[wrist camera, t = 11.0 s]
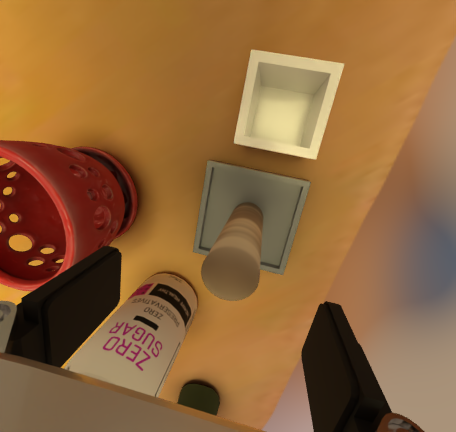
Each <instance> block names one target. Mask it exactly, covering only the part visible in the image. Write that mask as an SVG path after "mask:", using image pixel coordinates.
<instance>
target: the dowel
mask: <svg viewBox="0 0 456 432" xmlns="http://www.w3.org/2000/svg"><path fill="white" fill-rule="evenodd" d="M262 229H263V213H262V211H261V209H260V208H259V207H258V206H257V205H255V204H253V203H249V202H245V203H241V204H239V205H238V206H237V207H236V208H235V209H234V210H233V212H232V214H231V216H230V217H229V219H228V221H227V223H226V224H225V226H224V228H223V229H222V231H221V233H220V235H219V236H218V238H217V240H216V241H215V243H214V245H213V247H212V248H211V250H210V252H209V254H208V255H207V257H206V259H205V260H204V262H203V265H202V270H201V275H202V279H203V282H204V284H205V286H206V287H207V289H208V290H209V291H210V292H211V293H212V294H214V295H215V296H217V297H219V298H221V299H224V300H229V301H237V300H242V299H245V298H247V297H248V296H250V295H251V294H252V293H253V292H254V291H255V290H256V288H257V286H258V283H259V276H260V260H261V245H262Z"/></svg>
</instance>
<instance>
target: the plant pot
mask: <svg viewBox="0 0 456 432" xmlns="http://www.w3.org/2000/svg"><path fill="white" fill-rule="evenodd" d="M0 158H6V159H8V160H10V162H8V163H6V164H4V165H1V166H0V204H1V207H0V225H1V227H2V232H1V233H0V283H1V284H3V285H6V286H8V287H11V288H15V289H18V290H23V291H34V290H35V289H37V288H38V287H40V286H42V285H43V284H45V283H46V282H48V281H50V280H51V279H53V278H54V277H56V276H57V275H59V274H61V273H62V272H64V271H65V270H67V269H68V268H70V267H72V266H73V265H75V264H76V263H78V262H79V261H81V260H83V259H84V258H86V257H87V256H89V255H90V254H92V253H94V252H95V251H97V250H98V249H100V248H102V247H103V246H109V244H110V243H111V242H112V241H113V239H115V238H117V237H119V236H121V235H122V234H124V233H125V232H126V231H127V230H128V229H129V228H130V226H131V225H132V223H133V221H134V219H135V216H136V212H137V194H136V189H135V186H134V183H133V181H132V179H131V177H130V175H129V174H128V172H127V171H126V170H125V168H124V167H123V166H122V165H121V164H120V163H119V162H118V161H117V160H116V159H115V158H114V157H112V156H111V155H109V154H108V153H106V152H104V151H101V150H99V149H95V148H91V147H76V148H72V149H70V148H66V147H61V146H56V145H51V144H45V143H37V142H25V141H3V140H0ZM10 172H17V173H16V175H15V176H14V177H12V178H7V175H8V174H9V173H10ZM6 187H11V188H12V193H11V194H9V195H4V194H3V190H4V188H6ZM11 214H16V215H17V216H18V218H19V219H18V221H17V222H16V223H15V222H12V221H10V219H9V216H10V215H11ZM13 235H24V236H26V237H28V238H29V239H30V240H31V242H32V247H31V249H30V250H28V251H23V252H20V251H15V250H13V249H12V248H11V247H10V246H9V239H10V237H11V236H13ZM43 248H53V249H54V250H55V251H54V252H53V253H50V254H43V253H41V252H40V251H41V250H42V249H43ZM59 259H64V261H63V262H62V263H55V262H56V261H57V260H59ZM34 260H40V261H43V262H44V263H43V264H41V265H38V266H31V265H29V264H28V263H29V262H31V261H34ZM54 270H55V271H54Z"/></svg>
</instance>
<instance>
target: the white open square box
mask: <svg viewBox="0 0 456 432" xmlns="http://www.w3.org/2000/svg"><path fill="white" fill-rule="evenodd" d="M343 67H344V64H343V63H337V62H330V61H324V60H317V59H311V58H304V57H298V56H291V55H285V54H278V53H272V52H266V51H259V50H253V49H251V54H250V59H249V64H248V70H247V75H246V80H245V85H244V91H243V96H242V101H241V106H240V112H239V117H238V122H237V127H236V133H235V138H234V143H235V144H238V145H242V146H247V147H252V148H257V149H262V150H267V151H272V152H277V153H282V154H287V155H292V156H297V157H302V158H308V159H315V160H316V158H317V154H318V151H319V148H320V144H321V141H322V138H323V134H324V131H325V128H326V124H327V121H328V117H329V114H330V111H331V107H332V104H333V101H334V97H335V94H336V90H337V87H338V84H339V80H340V77H341V74H342V70H343Z"/></svg>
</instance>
